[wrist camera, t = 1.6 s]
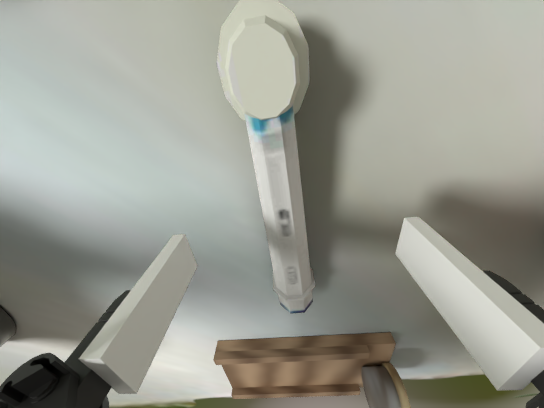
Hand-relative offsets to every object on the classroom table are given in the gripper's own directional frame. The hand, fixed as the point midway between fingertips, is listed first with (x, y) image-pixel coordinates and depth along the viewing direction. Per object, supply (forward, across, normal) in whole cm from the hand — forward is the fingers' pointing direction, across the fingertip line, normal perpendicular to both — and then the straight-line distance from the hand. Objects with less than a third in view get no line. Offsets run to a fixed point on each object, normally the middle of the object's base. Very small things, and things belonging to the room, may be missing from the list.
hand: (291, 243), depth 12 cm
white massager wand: (+7, 0, 0) cm, 7 cm away
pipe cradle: (+7, 0, -31) cm, 32 cm away
